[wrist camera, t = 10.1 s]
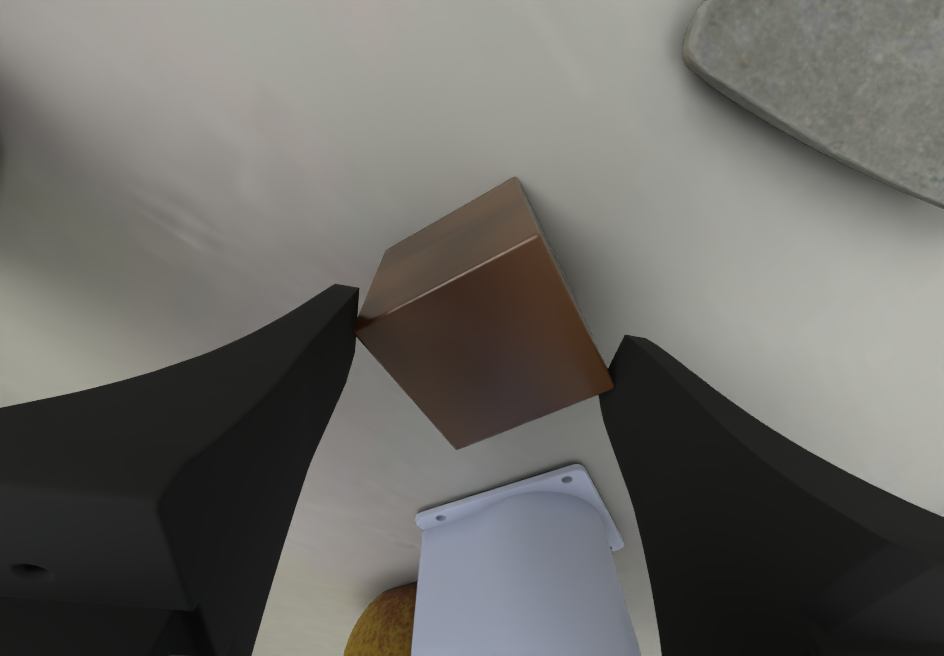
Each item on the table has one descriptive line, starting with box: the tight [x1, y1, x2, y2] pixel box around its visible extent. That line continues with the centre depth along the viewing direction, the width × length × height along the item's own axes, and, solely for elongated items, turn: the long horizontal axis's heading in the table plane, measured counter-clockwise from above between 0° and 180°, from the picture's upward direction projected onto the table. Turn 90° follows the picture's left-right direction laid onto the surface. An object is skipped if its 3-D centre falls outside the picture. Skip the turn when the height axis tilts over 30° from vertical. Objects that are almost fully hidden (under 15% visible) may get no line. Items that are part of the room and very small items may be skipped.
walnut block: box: [353, 177, 615, 450], centre depth 13 cm, size 5×5×5 cm
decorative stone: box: [682, 0, 944, 209], centre depth 11 cm, size 11×1×5 cm
